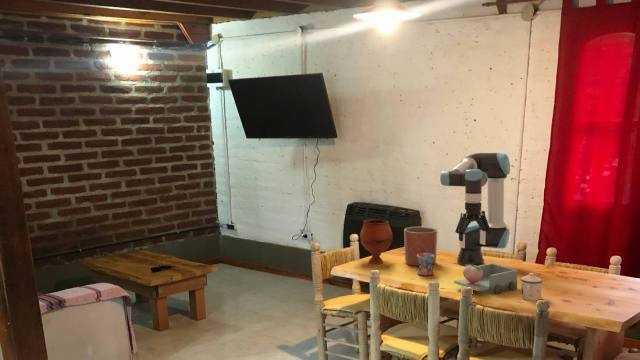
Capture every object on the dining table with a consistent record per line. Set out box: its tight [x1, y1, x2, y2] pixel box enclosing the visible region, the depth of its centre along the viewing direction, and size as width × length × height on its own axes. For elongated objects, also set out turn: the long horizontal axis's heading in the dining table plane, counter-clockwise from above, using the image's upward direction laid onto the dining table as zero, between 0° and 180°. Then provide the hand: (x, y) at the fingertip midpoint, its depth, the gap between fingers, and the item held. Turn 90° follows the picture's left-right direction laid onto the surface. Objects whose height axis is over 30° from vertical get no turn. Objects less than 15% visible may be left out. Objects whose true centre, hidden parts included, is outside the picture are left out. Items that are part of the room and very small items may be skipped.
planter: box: [403, 226, 438, 267], centre depth 305 cm, size 19×19×20 cm
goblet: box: [359, 219, 394, 265], centre depth 307 cm, size 19×19×25 cm
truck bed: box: [476, 262, 518, 295], centre depth 258 cm, size 18×19×9 cm
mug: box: [416, 253, 434, 277], centre depth 283 cm, size 12×9×11 cm
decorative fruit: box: [462, 263, 483, 284], centre depth 252 cm, size 9×8×10 cm
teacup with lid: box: [520, 272, 543, 302], centre depth 240 cm, size 12×9×12 cm
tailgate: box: [453, 278, 489, 292], centre depth 251 cm, size 2×15×8 cm
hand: (472, 245), depth 250 cm, fingers open, 13 cm apart
